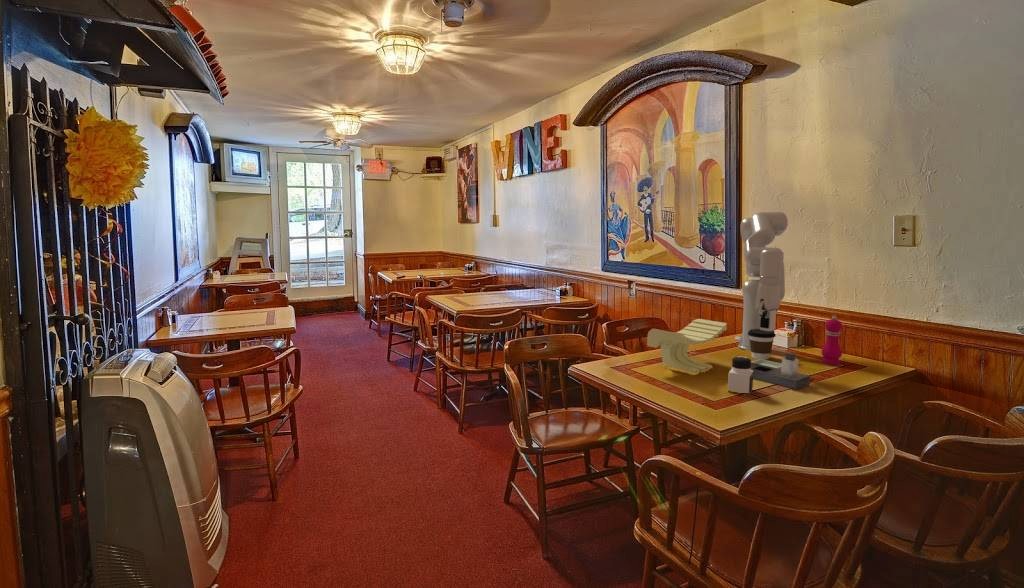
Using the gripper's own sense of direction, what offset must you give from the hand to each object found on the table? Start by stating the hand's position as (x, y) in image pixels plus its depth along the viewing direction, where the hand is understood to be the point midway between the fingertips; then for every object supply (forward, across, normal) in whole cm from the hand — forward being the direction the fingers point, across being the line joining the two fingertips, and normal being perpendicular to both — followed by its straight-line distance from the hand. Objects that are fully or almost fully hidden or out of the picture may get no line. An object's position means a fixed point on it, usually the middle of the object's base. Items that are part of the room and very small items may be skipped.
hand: (767, 326), depth 216 cm
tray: (+17, -2, -1) cm, 18 cm away
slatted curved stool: (+18, +22, -21) cm, 35 cm away
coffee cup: (+18, -14, -10) cm, 24 cm away
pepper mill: (+18, -28, +12) cm, 36 cm away
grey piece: (+18, +12, +8) cm, 23 cm away
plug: (+1, 0, 0) cm, 1 cm away
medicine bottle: (+18, +32, +8) cm, 37 cm away
